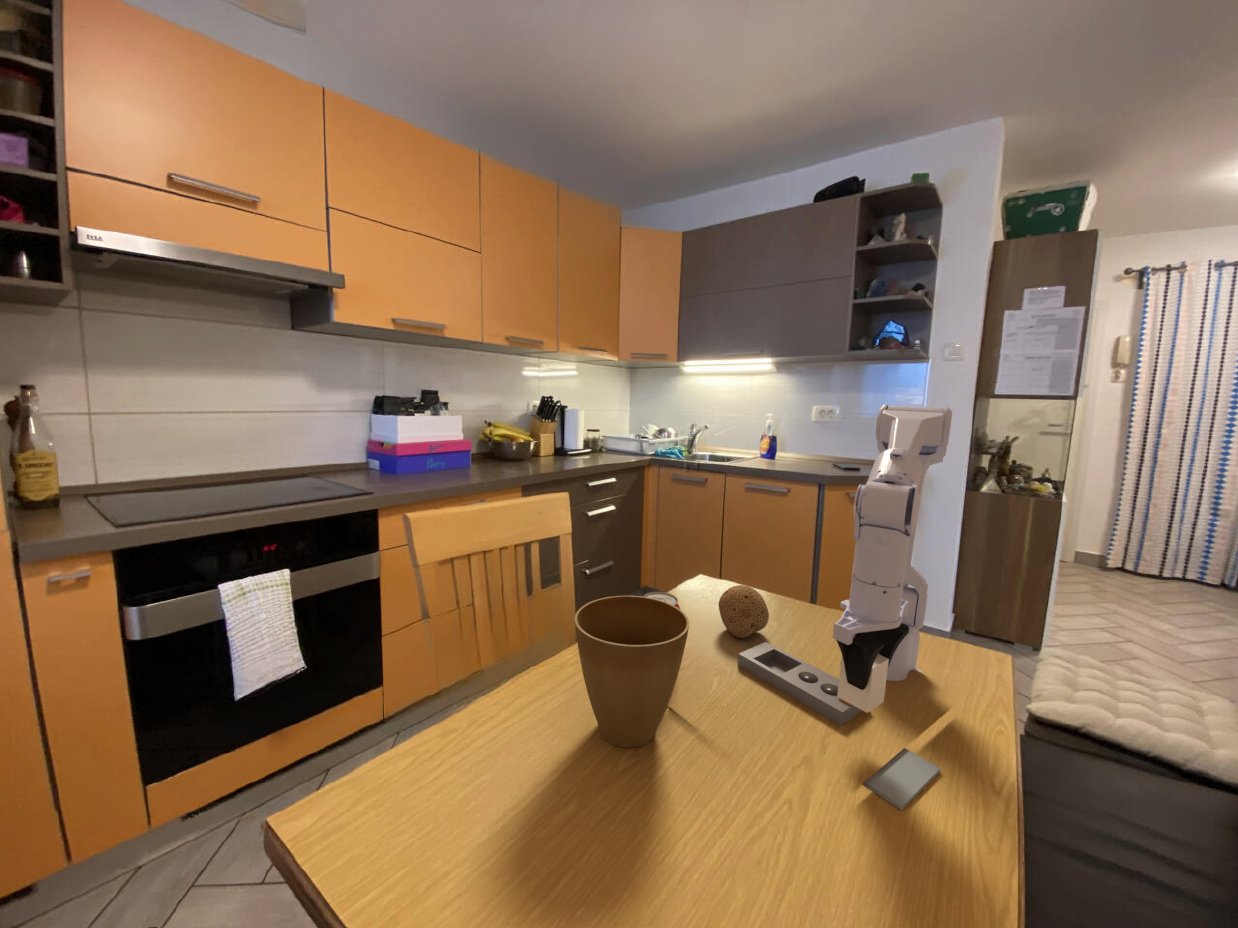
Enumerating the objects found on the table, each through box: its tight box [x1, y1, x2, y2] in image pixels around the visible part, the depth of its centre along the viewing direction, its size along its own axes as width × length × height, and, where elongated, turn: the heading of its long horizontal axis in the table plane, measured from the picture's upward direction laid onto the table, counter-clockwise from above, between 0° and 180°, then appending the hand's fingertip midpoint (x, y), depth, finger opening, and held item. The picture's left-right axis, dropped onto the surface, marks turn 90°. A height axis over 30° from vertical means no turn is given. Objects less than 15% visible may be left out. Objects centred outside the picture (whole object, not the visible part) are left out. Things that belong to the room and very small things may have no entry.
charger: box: [837, 654, 889, 714], centre depth 65 cm, size 4×4×6 cm
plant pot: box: [574, 595, 690, 748], centre depth 67 cm, size 15×15×16 cm
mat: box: [862, 747, 941, 811], centre depth 63 cm, size 10×10×1 cm
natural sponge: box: [718, 584, 770, 639], centre depth 93 cm, size 9×9×10 cm
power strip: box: [737, 641, 864, 727], centre depth 78 cm, size 7×18×4 cm, turn 37°
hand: (865, 679), depth 65 cm, fingers closed on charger, 4 cm apart
